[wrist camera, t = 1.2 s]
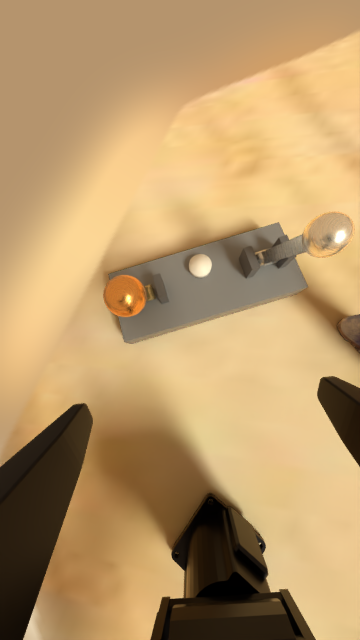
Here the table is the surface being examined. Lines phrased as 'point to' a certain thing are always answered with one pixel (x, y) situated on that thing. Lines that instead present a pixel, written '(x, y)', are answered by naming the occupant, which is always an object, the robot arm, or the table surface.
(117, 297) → the brass lever
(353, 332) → the flask
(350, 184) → the table surface
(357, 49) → the table surface
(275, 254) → the steel lever
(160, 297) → the switch panel
